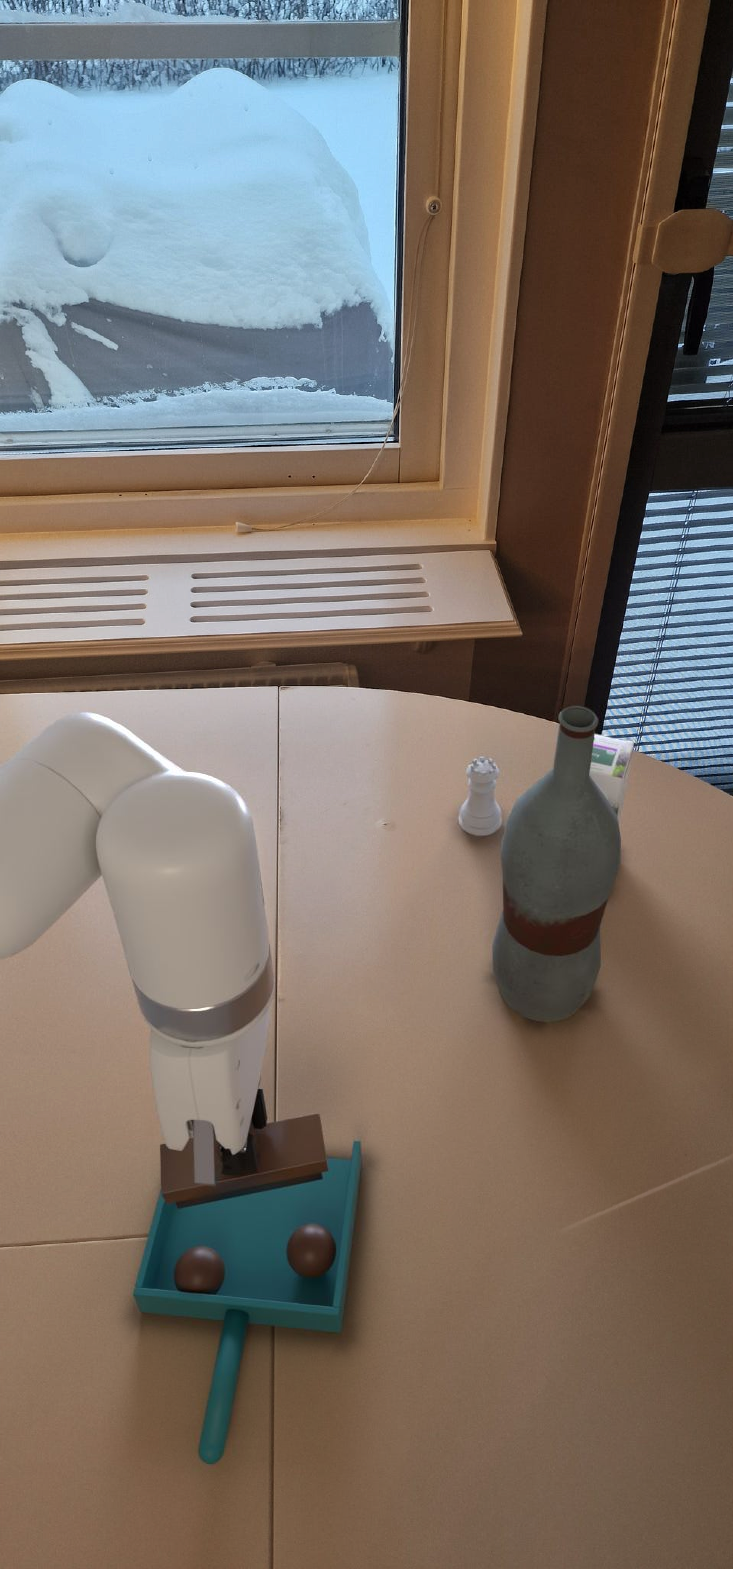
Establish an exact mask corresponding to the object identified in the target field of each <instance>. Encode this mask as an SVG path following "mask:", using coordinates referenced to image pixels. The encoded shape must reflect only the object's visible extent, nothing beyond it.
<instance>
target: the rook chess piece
mask: <svg viewBox="0 0 733 1569" xmlns="http://www.w3.org/2000/svg"><path fill="white" fill-rule="evenodd" d="M485 757H486V756H483V755H482V756H480V755H479V759H477V757H474V758H473V759H472V760H471V763H470V762H469V765H468V766H467V768H466V770H465V774H466V776H467V777H468V781H467V786H468V788H469V791H468V794H467V798H466V799H465V801H464V802H463V803H462V805H461V807H460V809H459V810H458V811H459V812H458V813H459V815H458V818H457V819H458V825H459V827H461V829H462V830H463V831H464V832H466V833H468V834H469V835H472V836H476V837H486V836H489V835H492V834H493V833H494V834H495V832H496V831H498V830H499V829H500V827H501V825H502V823H503V821H502V820H503V819H502V810H501V807H500V806H499V804H498V802H497V800H496V798H495V789H496V787H497V781H496V780H497V779H498V778H499V776H500V769H499V768H498V767H497V763H496V762H494V759H493V758H491V757H488V758H487V759H486V758H485Z"/></svg>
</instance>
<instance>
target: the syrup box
mask: <svg viewBox="0 0 733 1569" xmlns="http://www.w3.org/2000/svg"><path fill="white" fill-rule="evenodd" d="M634 748H635V740H623V739H618V738H614V737H612V736H607V735H603V734H598V733H595V735H594V743H593V751H592V758H591V766H590V774H589V775H590V776H591V778H592V779H593V780H594V782H595V783H596V785H597V786H598V787H599V789H600V790H601V792H602V793H603V794H604V796H605V797H606V798H607V800H608V801H609V803H610V804H611V806H612V807H613V809H614V811H615V812H616V814H617V818H618V823H619V824H620V823H621V817H622V812H623V806H624V801H625V795H626V791H627V790H626V789H627V784H628V779H629V773H630V769H631V762H632V758H633V757H632V756H633V752H634Z"/></svg>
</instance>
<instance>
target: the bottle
mask: <svg viewBox="0 0 733 1569" xmlns="http://www.w3.org/2000/svg"><path fill="white" fill-rule="evenodd" d="M557 717H558V722H559V725H558V731H557V738H556V745H555V752H554V759H553V765H552V766H553V767H552V769H550V771H548V772H547V773H545V775H543V777H541V778H540V779H539V780H537V781H536V782H535V783H534V784H533V785H531V786H530V787H529V788H528V789H527V790H525V791H524V792H523V793H522V794H521V795H520V796H519V797H517V798H516V800H515V802H514V804H513V806H512V809H511V811H510V813H509V815H508V817H507V819H506V822H505V825H504V826H505V827H504V830H503V834H502V837H501V842H500V861H501V873H502V874H501V875H502V876H501V877H502V912H501V915H500V918H499V921H498V924H497V927H496V931H495V935H494V939H493V941H492V942H493V943H492V946H491V947H492V966H493V977H494V981H495V984H496V986H497V989H498V991H499V994H500V997H501V998H502V1000H503V1001H504V1003H505V1004H506V1005H507V1006H508V1007H509V1009H510V1010H512V1011H514V1012H515V1013H516V1014H518V1015H520V1016H521V1017H523V1018H526V1019H529V1020H532V1021H534V1022H541V1023H542V1022H544V1023H545V1022H546V1023H554V1022H558V1021H563V1020H566V1019H568V1018H569V1017H571V1016H574V1015H575V1014H576V1013H578V1012H579V1010H580V1009H581V1008H582V1007H583V1005H584V1004H585V1003H586V1002H587V1000H588V999H589V998H590V996H591V994H592V992H593V990H594V986H595V984H596V982H597V979H598V976H599V972H600V969H601V965H602V964H601V963H602V962H601V961H602V959H601V958H602V957H601V956H602V952H601V951H602V941H601V924H602V921H603V917H604V914H605V912H606V907H607V905H608V901H609V898H610V895H611V892H612V889H613V886H614V884H615V881H616V879H617V877H618V873H619V869H620V866H621V856H622V854H621V852H622V837H621V831H620V829H621V828H620V823H618V818H617V814H616V812H615V811H614V809H613V807H612V806H611V804H610V803H609V801H608V800H607V798H606V797H605V796H604V794H603V793H602V792H601V790H600V789H599V787H598V786H597V785H596V783H595V782H594V780H593V779H592V778H591V776H590V775H589V774H590V766H591V758H592V751H593V743H594V735H595V734H596V728H597V727H598V726H599V718H598V717H597V715H596V714H595V712H594V711H593V710H591V709H590V708H589V707H586V706H582V705H571V706H567V707H565V708H564V709H563V710H561V711H560V712H559V713H558V715H557Z"/></svg>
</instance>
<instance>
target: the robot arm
mask: <svg viewBox="0 0 733 1569" xmlns="http://www.w3.org/2000/svg"><path fill="white" fill-rule="evenodd" d="M249 809H250V808H248V806H247V804H246V801H245V800H244V799H243V798H242V797H241V795H240V794H239V793H238V791H236V789H234V788H233V787H232V786H230V785H229V784H228V783H226V782H224V781H223V780H221V779H219V778H216V777H215V776H211V775H209V774H205V773H201V772H194V771H185V770H184V769H182V768H181V767H179V766H178V765H176V764H175V763H173V762H172V761H171V760H170V759H167V757H165V756H164V755H162V754H161V753H160V752H158V751H157V750H156V749H155V748H152V746H150V745H149V744H147V743H146V742H145V741H143V740H142V739H141V738H140V737H138V736H137V735H135V734H134V733H133V732H131V731H130V730H129V729H128V728H126V727H125V726H124V725H121V724H120V723H117V722H116V721H114V720H112V719H110V718H108V717H105V716H103V715H101V714H97V713H92V712H87V711H81V712H74V713H70V714H67V715H65V716H63V717H61V718H59V719H57V720H55V722H53V723H51V724H50V725H48V726H47V727H46V728H45V729H44V730H43V731H41V732H40V733H38V734H37V735H36V736H35V737H34V738H32V739H31V740H30V741H29V742H28V743H26V745H24V746H23V747H22V748H20V750H18V751H17V752H15V754H13V755H12V756H11V757H10V758H8V760H6V761H5V762H3V763H2V764H1V765H0V961H1V960H5V959H8V958H11V957H14V956H16V955H18V954H19V953H21V952H23V951H25V950H27V949H28V948H29V947H31V946H32V945H34V944H35V943H36V942H37V941H38V940H39V939H41V937H43V936H44V934H45V933H46V932H48V930H50V929H51V927H53V926H54V925H55V923H57V921H59V919H61V918H62V917H63V916H64V915H65V913H66V912H67V911H68V910H69V909H70V908H71V907H72V906H74V904H75V903H76V902H77V901H78V900H80V898H81V897H82V896H84V894H85V893H86V892H87V891H88V890H89V889H90V888H91V887H92V886H93V885H94V884H95V883H96V882H97V881H98V880H99V879H100V878H101V877H102V880H103V883H104V886H105V889H106V893H107V897H108V900H109V904H110V908H111V911H112V915H113V918H114V921H115V924H116V928H117V931H118V935H119V938H120V943H121V946H122V950H123V953H124V954H123V955H124V958H125V961H126V965H127V967H128V968H127V969H128V971H129V975H130V979H131V983H132V986H133V989H134V992H135V996H136V1000H137V1004H138V1006H139V1010H140V1014H141V1016H142V1018H143V1020H144V1022H145V1024H146V1025H147V1026H148V1027H149V1029H150V1035H149V1064H150V1066H149V1067H150V1075H151V1084H152V1091H153V1098H154V1103H155V1108H156V1114H157V1118H158V1124H159V1127H160V1132H161V1136H162V1139H163V1142H164V1144H166V1145H167V1147H168V1148H169V1149H173V1150H179V1151H182V1150H183V1149H184V1147H185V1145H186V1144H187V1142H188V1140H189V1139H190V1138H191V1132H192V1138H193V1145H194V1182H195V1185H204V1186H216V1185H217V1183H218V1180H219V1177H220V1175H221V1174H224V1175H232V1176H236V1175H240V1174H241V1172H248V1173H255V1172H257V1168H258V1158H257V1152H256V1147H255V1142H254V1136H253V1135H252V1134H251V1133H249V1132H248V1131H249V1127H250V1122H251V1119H252V1123H253V1126H254V1129H263V1128H264V1127H265V1126H266V1123H268V1115H267V1114H268V1113H267V1108H266V1101H265V1096H264V1090H263V1088H260V1085H261V1079H262V1070H263V1066H264V1061H265V1056H266V1050H267V1046H268V1041H269V1033H270V1026H271V1007H270V1006H271V1004H272V1001H273V999H274V994H275V988H276V986H275V983H276V982H275V974H274V966H273V959H272V958H273V957H272V952H271V951H272V950H271V944H270V937H269V936H270V935H269V929H268V921H267V912H266V907H265V906H266V904H265V899H264V891H263V883H262V875H261V868H260V861H259V852H258V846H257V845H258V844H257V838H256V832H255V827H254V822H253V818H252V814H251V811H250V810H249Z"/></svg>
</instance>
